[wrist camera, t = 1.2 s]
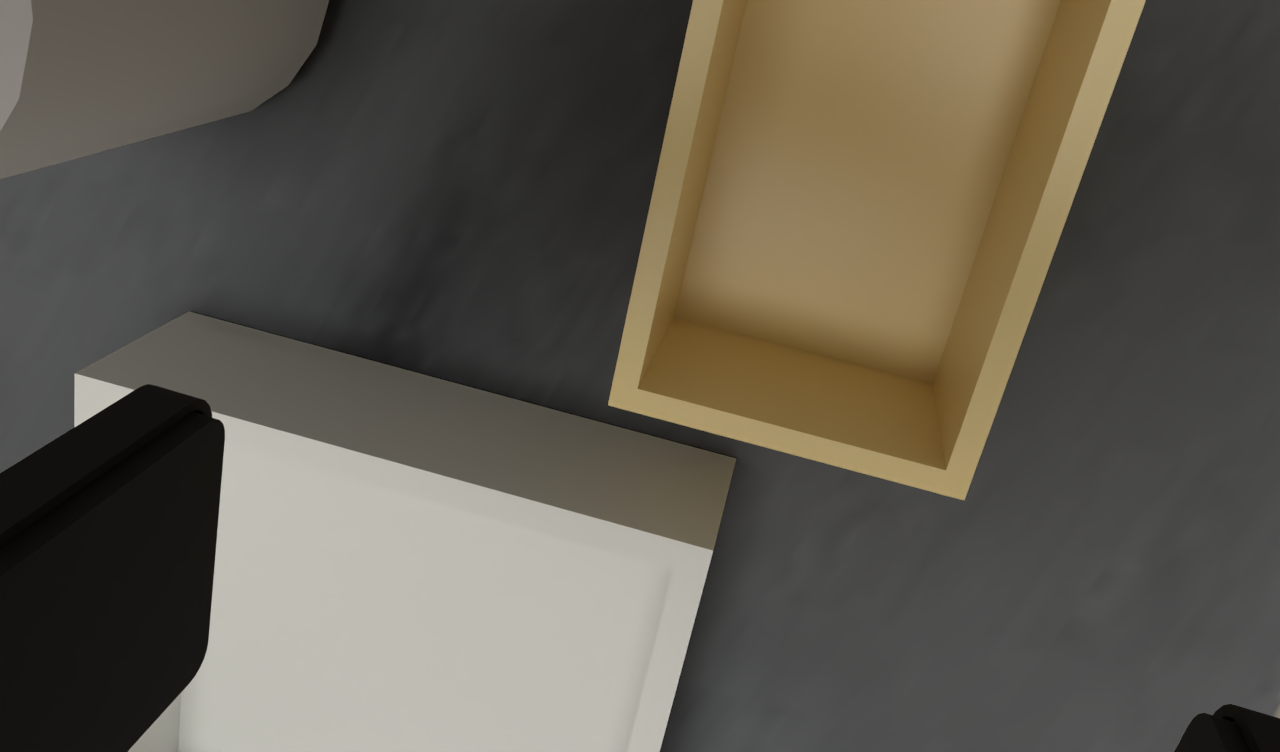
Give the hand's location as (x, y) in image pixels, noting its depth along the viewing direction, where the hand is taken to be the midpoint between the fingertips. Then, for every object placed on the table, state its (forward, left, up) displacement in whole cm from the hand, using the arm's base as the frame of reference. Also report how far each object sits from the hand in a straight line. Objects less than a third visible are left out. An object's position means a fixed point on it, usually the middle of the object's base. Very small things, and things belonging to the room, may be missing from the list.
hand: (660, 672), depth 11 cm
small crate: (-2, +1, -16) cm, 16 cm away
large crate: (+13, -7, -16) cm, 21 cm away
